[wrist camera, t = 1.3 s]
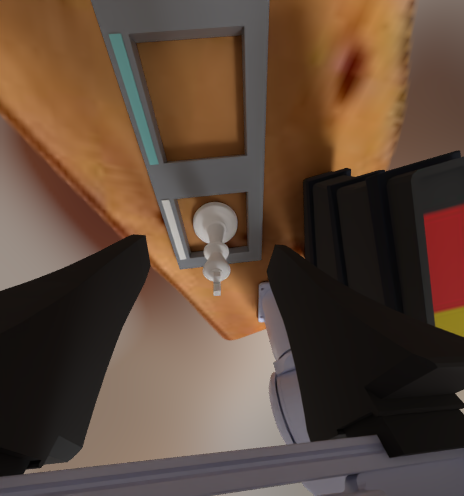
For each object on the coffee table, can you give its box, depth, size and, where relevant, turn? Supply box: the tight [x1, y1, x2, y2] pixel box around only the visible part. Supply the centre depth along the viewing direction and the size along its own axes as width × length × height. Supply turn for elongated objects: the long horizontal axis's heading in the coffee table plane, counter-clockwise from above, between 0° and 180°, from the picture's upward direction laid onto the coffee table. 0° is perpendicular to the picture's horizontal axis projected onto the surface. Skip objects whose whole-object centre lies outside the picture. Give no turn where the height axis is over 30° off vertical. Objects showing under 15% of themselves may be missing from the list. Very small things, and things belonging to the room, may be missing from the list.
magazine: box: [303, 151, 464, 337], centre depth 15 cm, size 4×13×15 cm, turn 16°
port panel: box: [91, 0, 269, 269], centre depth 15 cm, size 20×10×1 cm, turn 5°
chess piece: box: [193, 202, 238, 296], centre depth 15 cm, size 5×5×10 cm
